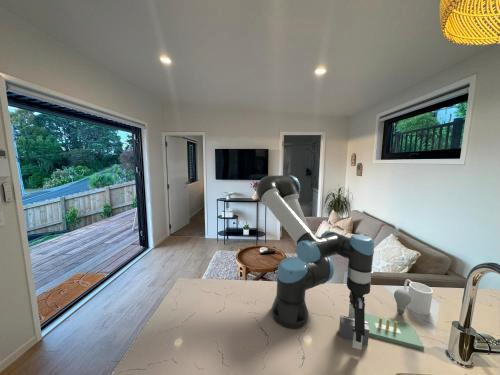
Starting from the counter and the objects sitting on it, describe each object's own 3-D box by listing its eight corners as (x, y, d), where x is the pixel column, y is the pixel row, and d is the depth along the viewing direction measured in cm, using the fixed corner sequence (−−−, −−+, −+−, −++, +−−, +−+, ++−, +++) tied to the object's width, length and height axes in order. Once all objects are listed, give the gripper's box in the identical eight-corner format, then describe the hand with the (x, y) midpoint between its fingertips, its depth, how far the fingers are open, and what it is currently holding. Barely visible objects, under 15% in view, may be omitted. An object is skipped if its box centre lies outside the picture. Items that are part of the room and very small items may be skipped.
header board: (360, 333, 81) (361, 322, 80) (356, 313, 91) (357, 303, 91) (423, 350, 75) (425, 338, 74) (411, 326, 85) (413, 316, 84)
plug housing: (339, 337, 79) (341, 322, 78) (339, 329, 83) (340, 314, 82) (367, 345, 76) (369, 329, 75) (365, 336, 80) (367, 321, 79)
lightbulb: (411, 320, 88) (415, 295, 87) (395, 317, 90) (398, 293, 88) (404, 310, 94) (407, 287, 93) (389, 307, 96) (392, 285, 94)
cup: (410, 296, 104) (412, 277, 103) (434, 313, 93) (438, 292, 91) (395, 297, 103) (398, 278, 102) (418, 315, 91) (421, 293, 90)
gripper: (379, 302, 63) (373, 366, 66) (364, 264, 86) (360, 312, 89) (351, 297, 65) (346, 358, 68) (344, 261, 89) (341, 308, 91)
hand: (354, 332), depth 79 cm, fingers open, 13 cm apart
